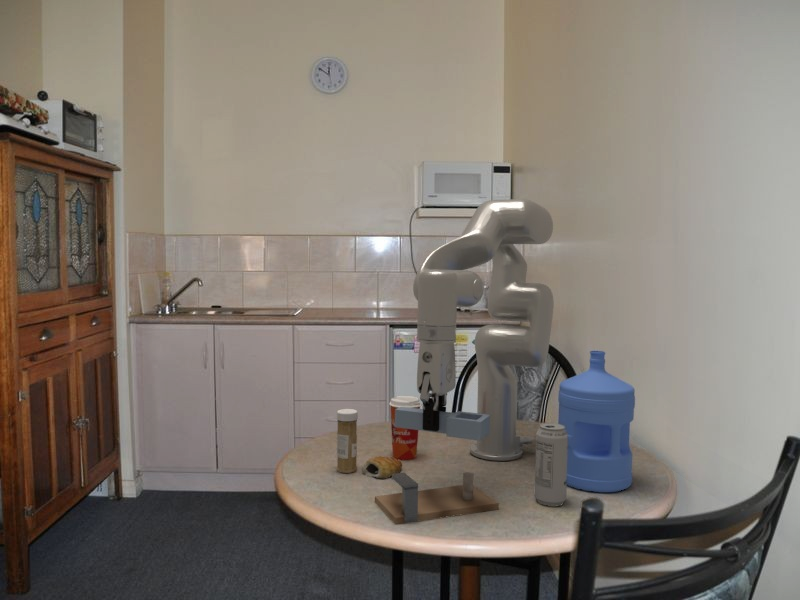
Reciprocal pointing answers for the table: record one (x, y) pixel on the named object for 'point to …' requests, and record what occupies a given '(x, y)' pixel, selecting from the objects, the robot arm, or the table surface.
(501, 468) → the table surface
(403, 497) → the keeper
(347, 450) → the sprinkles bottle
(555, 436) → the energy drink can
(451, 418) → the link
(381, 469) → the pastry
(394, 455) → the paper cup
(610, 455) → the water jug
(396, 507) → the board
